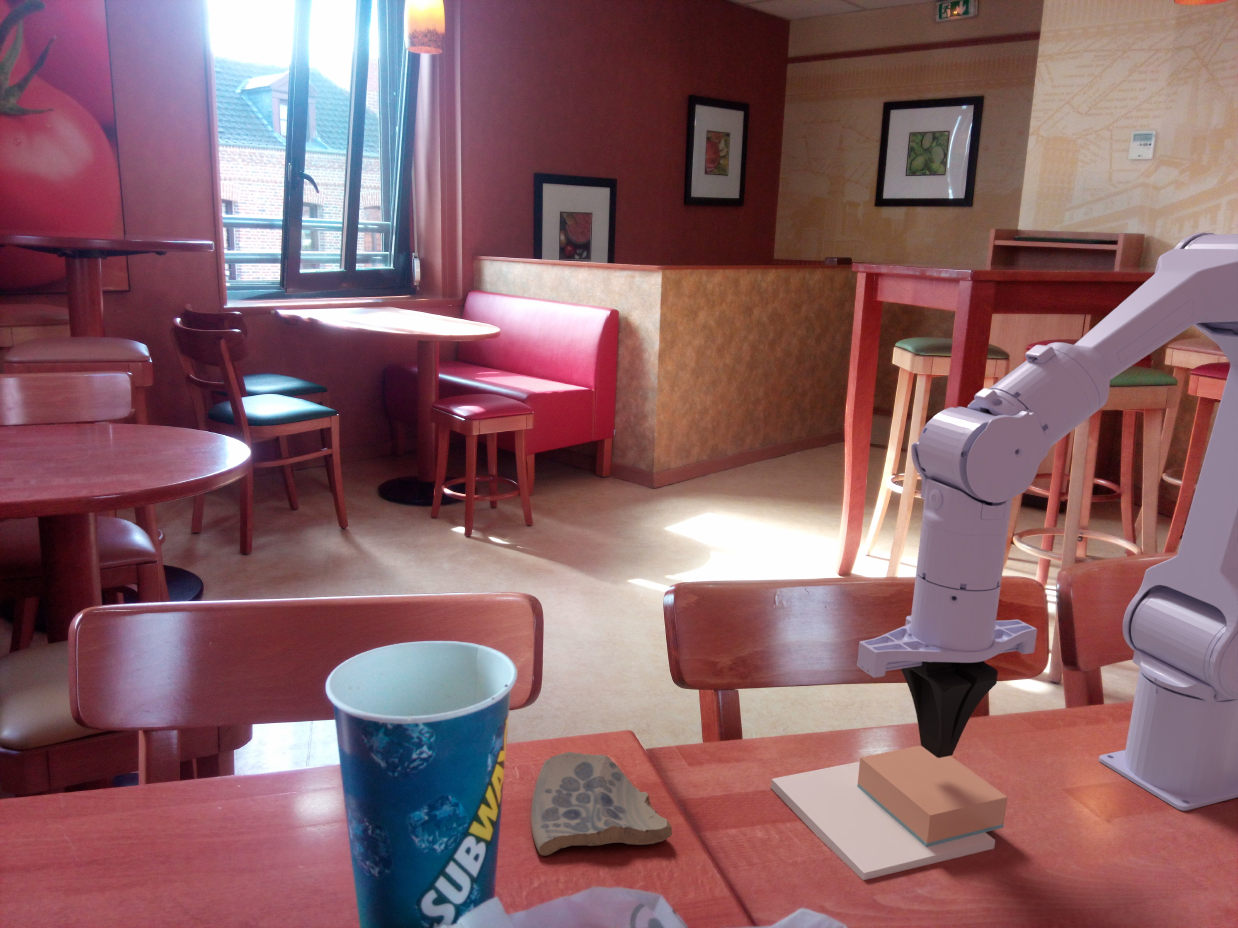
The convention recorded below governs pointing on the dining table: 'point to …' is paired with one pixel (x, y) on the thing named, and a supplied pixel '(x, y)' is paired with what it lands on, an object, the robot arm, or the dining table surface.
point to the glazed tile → (931, 794)
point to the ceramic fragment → (590, 805)
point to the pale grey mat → (863, 824)
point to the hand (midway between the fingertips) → (936, 749)
